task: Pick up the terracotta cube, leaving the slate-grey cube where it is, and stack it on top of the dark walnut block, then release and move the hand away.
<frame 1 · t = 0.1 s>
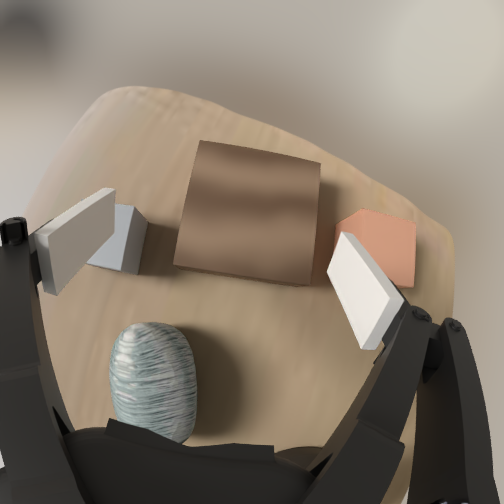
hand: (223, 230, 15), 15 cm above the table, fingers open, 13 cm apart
walnut block: (246, 221, 32), on the table
terracotta cube: (358, 257, 33), on the table
grey cube: (118, 244, 29), on the table
yarn skein: (160, 377, 28), on the table
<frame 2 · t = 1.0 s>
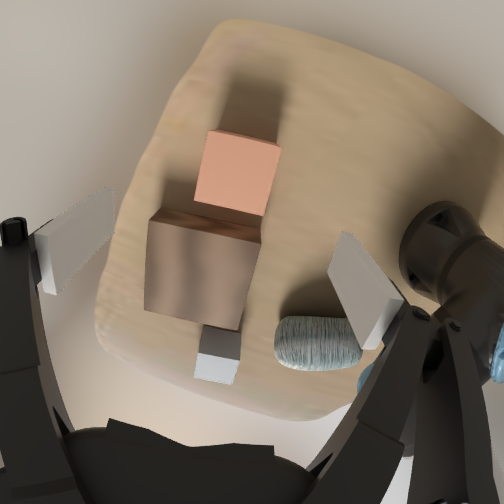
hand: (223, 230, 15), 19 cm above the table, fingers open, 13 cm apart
walnut block: (201, 261, 38), on the table
terracotta cube: (239, 163, 32), on the table
grey cube: (219, 342, 44), on the table
yarn skein: (314, 325, 43), on the table
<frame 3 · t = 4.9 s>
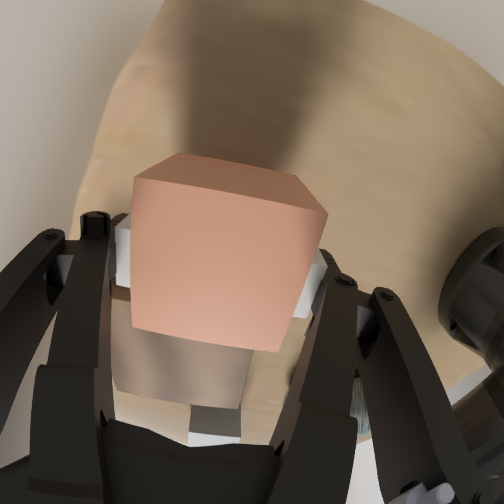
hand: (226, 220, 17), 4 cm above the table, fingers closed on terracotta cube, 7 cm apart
walnut block: (181, 327, 27), on the table
terracotta cube: (226, 218, 17), point 4 cm above the table, touching gripper
grey cube: (214, 406, 33), on the table
yarn skein: (331, 383, 32), on the table
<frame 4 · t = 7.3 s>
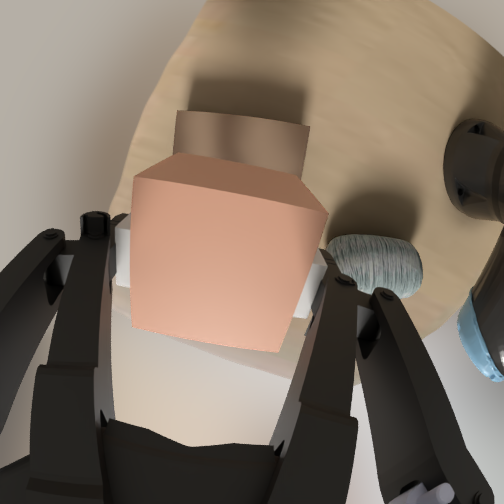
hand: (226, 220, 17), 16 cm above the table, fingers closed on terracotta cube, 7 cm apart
walnut block: (236, 171, 32), on the table
terracotta cube: (226, 218, 17), point 16 cm above the table, touching gripper
yarn skein: (363, 253, 37), on the table
when the fingers open (6 cm above the table, at t = 9.9 s): terracotta cube stays where it is, resting on walnut block.
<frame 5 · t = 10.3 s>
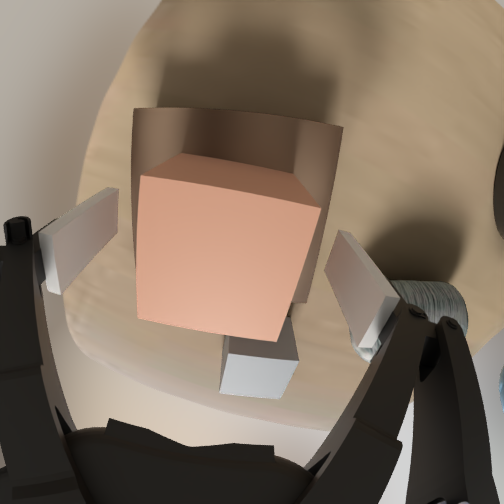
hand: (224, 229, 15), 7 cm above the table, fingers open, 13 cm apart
walnut block: (231, 193, 22), on the table, touching terracotta cube
terracotta cube: (226, 215, 18), point 5 cm above the table, touching walnut block
grey cube: (255, 334, 29), on the table
yarn skein: (395, 297, 27), on the table
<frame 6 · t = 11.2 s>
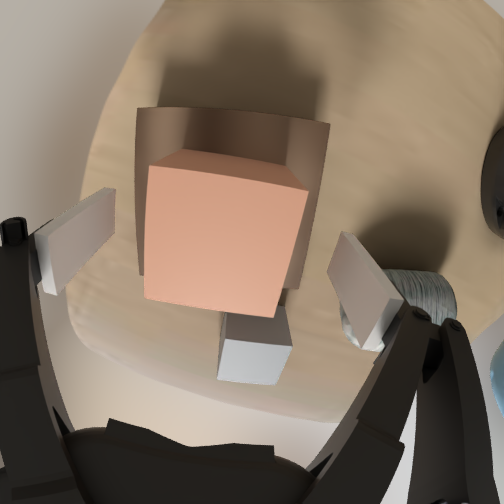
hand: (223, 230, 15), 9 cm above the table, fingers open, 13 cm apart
walnut block: (227, 186, 24), on the table, touching terracotta cube
terracotta cube: (224, 205, 19), point 5 cm above the table, touching walnut block
grey cube: (250, 323, 30), on the table
yarn skein: (385, 287, 29), on the table
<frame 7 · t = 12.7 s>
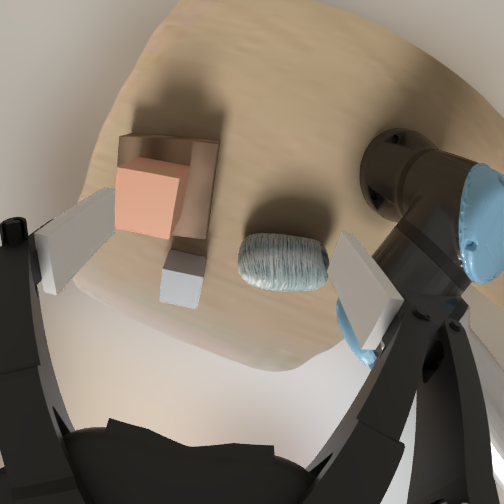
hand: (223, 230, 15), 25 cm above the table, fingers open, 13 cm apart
walnut block: (170, 179, 39), on the table, touching terracotta cube
terracotta cube: (159, 187, 34), point 5 cm above the table, touching walnut block
grey cube: (186, 268, 46), on the table
yarn skein: (280, 249, 45), on the table
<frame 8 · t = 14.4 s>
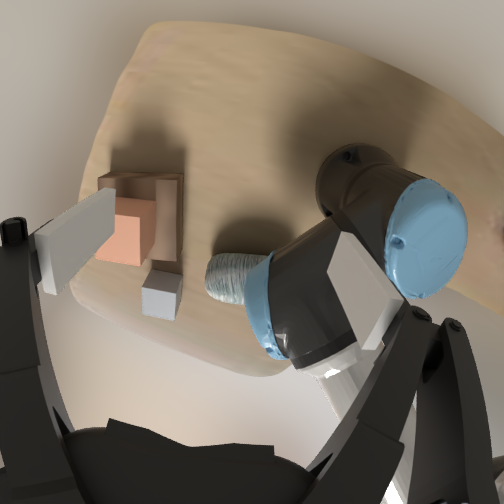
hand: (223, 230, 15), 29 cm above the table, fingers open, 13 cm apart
walnut block: (146, 209, 45), on the table, touching terracotta cube
terracotta cube: (133, 220, 40), point 5 cm above the table, touching walnut block
grey cube: (166, 285, 51), on the table
yarn skein: (246, 266, 50), on the table
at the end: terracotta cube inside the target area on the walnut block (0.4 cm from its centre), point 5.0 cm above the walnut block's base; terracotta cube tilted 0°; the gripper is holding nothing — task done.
